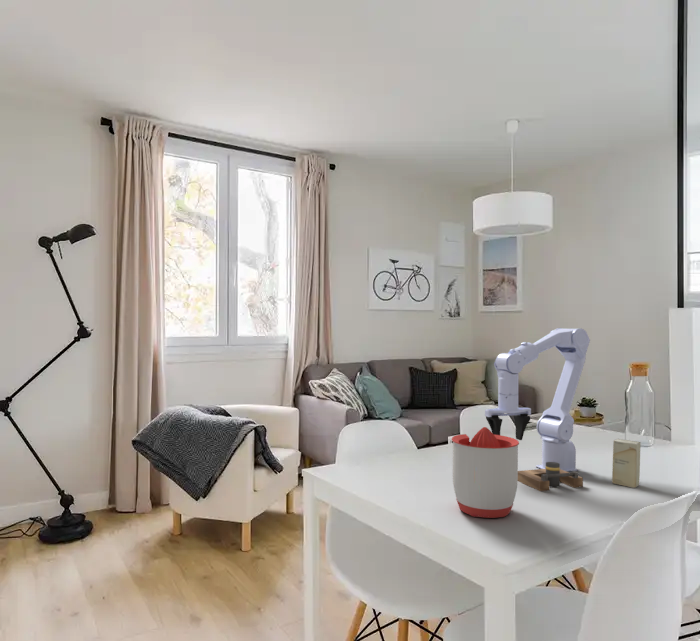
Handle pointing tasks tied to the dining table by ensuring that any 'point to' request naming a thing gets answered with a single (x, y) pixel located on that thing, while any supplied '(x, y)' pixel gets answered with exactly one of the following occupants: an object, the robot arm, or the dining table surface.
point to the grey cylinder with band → (553, 469)
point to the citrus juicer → (485, 473)
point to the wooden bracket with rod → (540, 479)
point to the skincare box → (626, 463)
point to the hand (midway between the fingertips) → (507, 440)
